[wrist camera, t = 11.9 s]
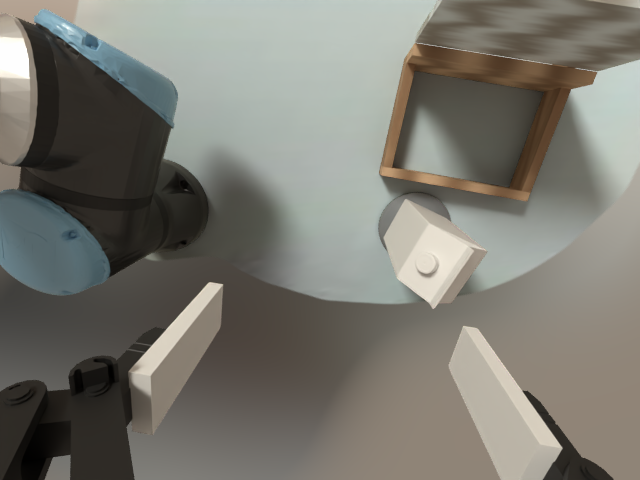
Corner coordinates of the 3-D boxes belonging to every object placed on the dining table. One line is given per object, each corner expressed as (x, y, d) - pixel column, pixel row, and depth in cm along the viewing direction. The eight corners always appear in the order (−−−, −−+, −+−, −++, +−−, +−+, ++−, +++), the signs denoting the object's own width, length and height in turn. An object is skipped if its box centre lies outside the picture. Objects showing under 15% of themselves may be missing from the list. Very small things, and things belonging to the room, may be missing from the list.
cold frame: (379, 172, 46) (400, 196, 26) (408, 42, 41) (462, -52, 21) (514, 196, 45) (641, 240, 25) (562, 67, 40) (774, -7, 20)
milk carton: (446, 217, 47) (506, 266, 29) (422, 256, 49) (463, 323, 31) (405, 198, 46) (439, 234, 28) (382, 237, 49) (401, 294, 31)
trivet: (371, 252, 50) (372, 253, 50) (387, 186, 47) (387, 187, 46) (438, 264, 50) (439, 266, 49) (458, 199, 46) (460, 200, 46)
